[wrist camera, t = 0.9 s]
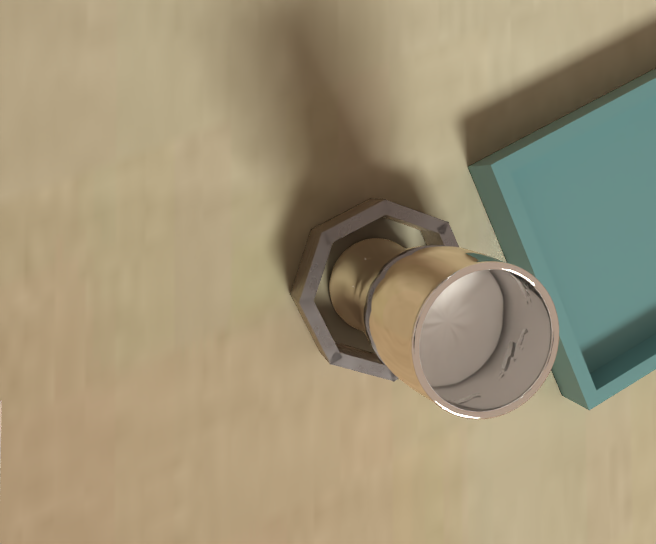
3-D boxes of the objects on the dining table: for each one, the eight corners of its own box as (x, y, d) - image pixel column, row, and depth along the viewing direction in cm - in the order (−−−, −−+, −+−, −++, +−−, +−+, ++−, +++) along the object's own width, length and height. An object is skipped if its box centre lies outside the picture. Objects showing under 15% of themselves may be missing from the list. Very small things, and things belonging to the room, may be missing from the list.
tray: (467, 166, 39) (490, 164, 36) (684, 53, 41) (722, 42, 38) (562, 395, 43) (589, 410, 40) (753, 278, 45) (792, 284, 43)
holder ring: (267, 251, 36) (275, 256, 34) (410, 177, 38) (428, 176, 35) (339, 390, 39) (351, 406, 36) (470, 315, 40) (492, 324, 37)
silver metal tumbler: (431, 236, 39) (577, 264, 24) (416, 340, 40) (550, 427, 25) (328, 225, 37) (420, 247, 23) (315, 333, 38) (396, 423, 23)
